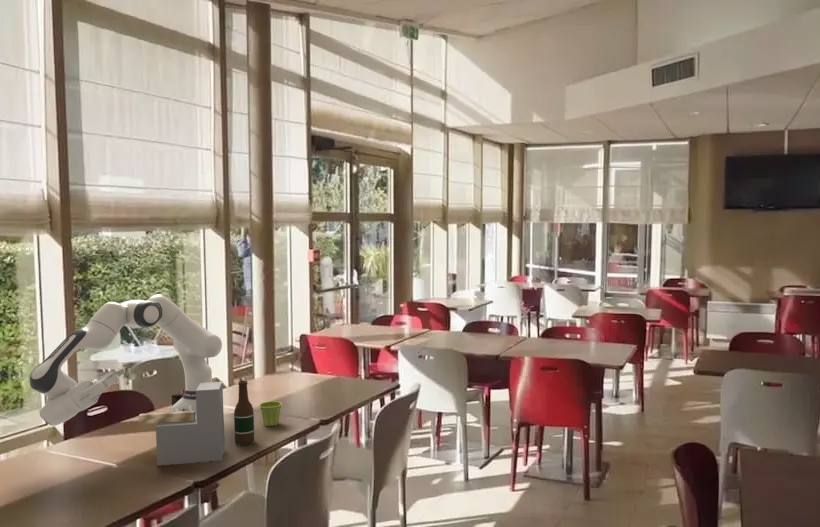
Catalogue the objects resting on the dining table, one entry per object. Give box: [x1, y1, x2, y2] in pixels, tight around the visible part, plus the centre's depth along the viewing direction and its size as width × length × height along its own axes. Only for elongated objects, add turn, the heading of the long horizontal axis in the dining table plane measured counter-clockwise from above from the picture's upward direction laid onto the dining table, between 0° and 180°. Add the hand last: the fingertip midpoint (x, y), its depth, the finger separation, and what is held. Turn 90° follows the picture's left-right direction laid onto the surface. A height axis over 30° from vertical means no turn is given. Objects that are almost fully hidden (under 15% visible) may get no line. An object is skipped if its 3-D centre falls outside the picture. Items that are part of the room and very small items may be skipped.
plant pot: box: [258, 400, 283, 427], centre depth 292 cm, size 9×9×9 cm
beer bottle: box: [233, 380, 255, 446], centre depth 268 cm, size 8×8×24 cm
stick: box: [138, 411, 195, 425], centre depth 250 cm, size 19×2×3 cm, turn 100°
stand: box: [155, 381, 226, 466], centre depth 251 cm, size 22×12×26 cm, turn 100°
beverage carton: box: [171, 387, 186, 407], centre depth 331 cm, size 8×19×7 cm, turn 174°
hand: (120, 373), depth 246 cm, fingers open, 8 cm apart
